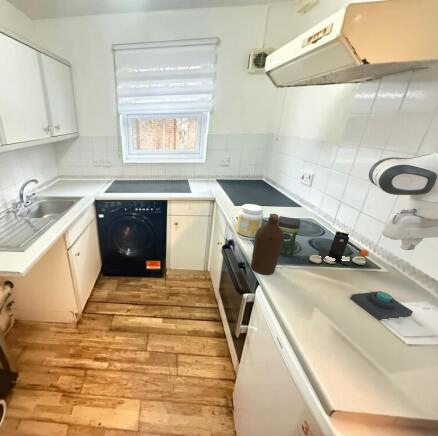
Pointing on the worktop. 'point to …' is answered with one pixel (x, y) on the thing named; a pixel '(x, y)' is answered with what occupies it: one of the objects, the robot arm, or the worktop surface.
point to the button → (384, 297)
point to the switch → (358, 249)
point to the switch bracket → (337, 249)
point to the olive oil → (267, 247)
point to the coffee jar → (288, 234)
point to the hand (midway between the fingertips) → (406, 249)
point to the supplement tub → (249, 221)
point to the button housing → (380, 306)
